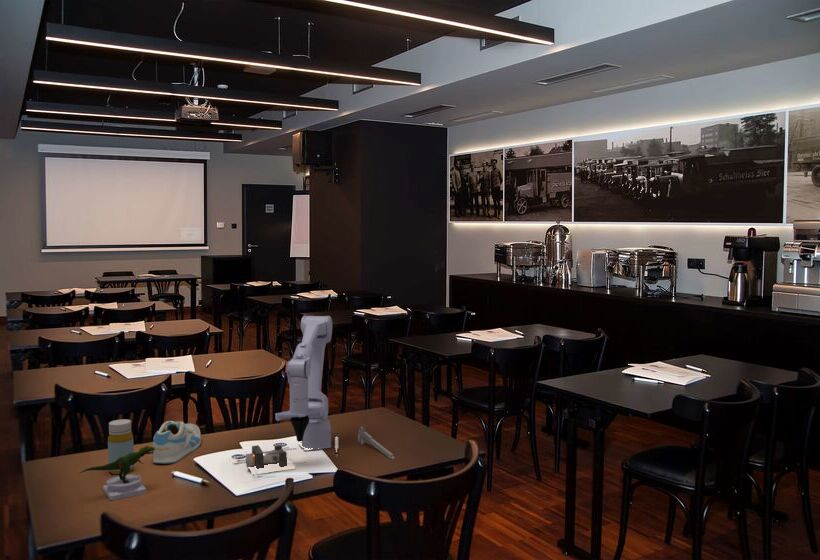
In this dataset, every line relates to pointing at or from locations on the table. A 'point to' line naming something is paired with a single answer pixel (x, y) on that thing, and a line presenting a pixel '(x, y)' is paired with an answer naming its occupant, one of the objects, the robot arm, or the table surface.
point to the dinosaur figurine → (124, 476)
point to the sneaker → (175, 441)
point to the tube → (268, 458)
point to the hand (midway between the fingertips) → (299, 440)
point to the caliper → (372, 442)
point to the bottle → (119, 441)
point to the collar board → (259, 456)
